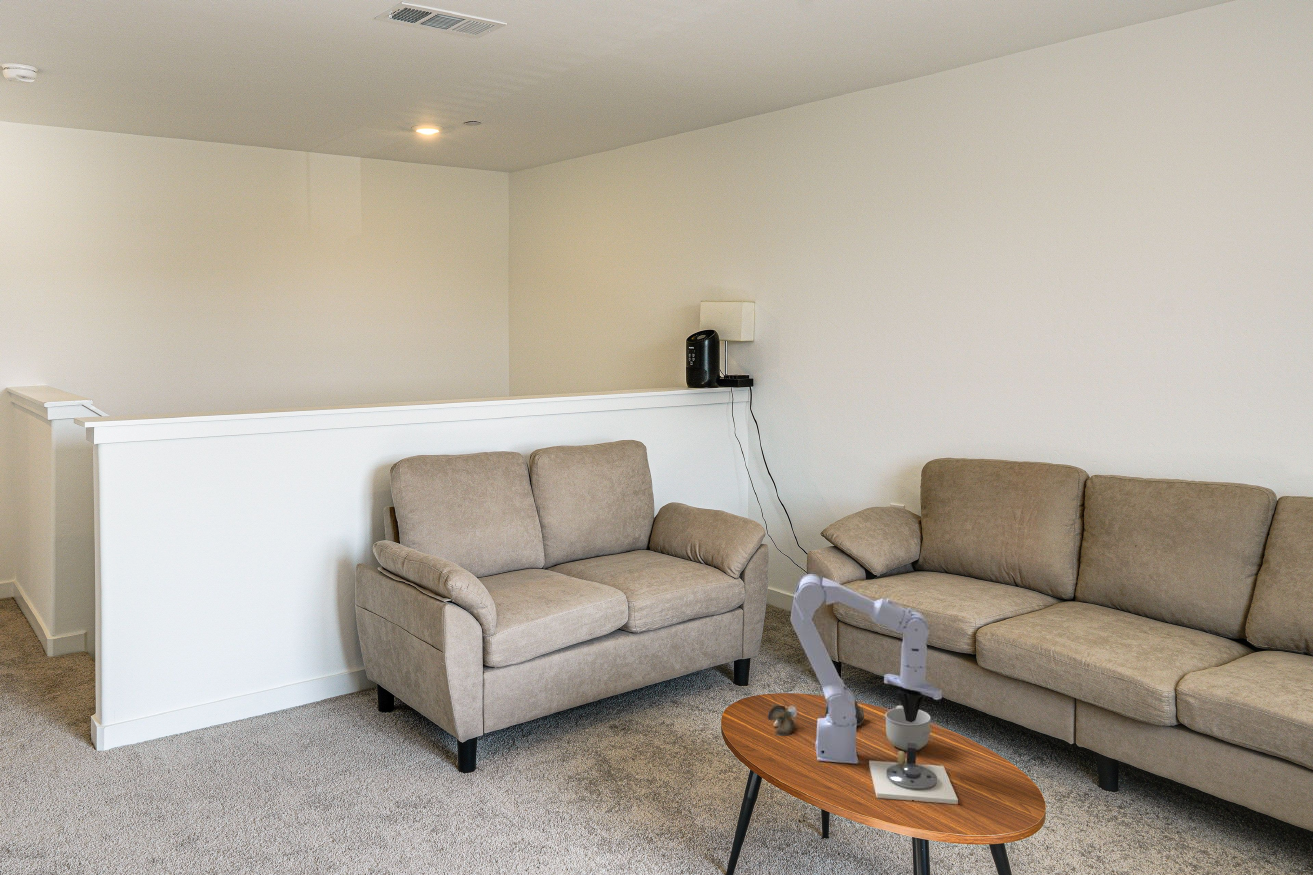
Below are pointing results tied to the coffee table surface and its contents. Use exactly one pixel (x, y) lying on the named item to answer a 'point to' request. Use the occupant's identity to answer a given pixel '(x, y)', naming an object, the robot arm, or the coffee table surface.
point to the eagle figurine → (783, 718)
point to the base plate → (893, 791)
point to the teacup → (907, 728)
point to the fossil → (858, 715)
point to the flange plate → (906, 780)
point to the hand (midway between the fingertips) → (910, 720)
